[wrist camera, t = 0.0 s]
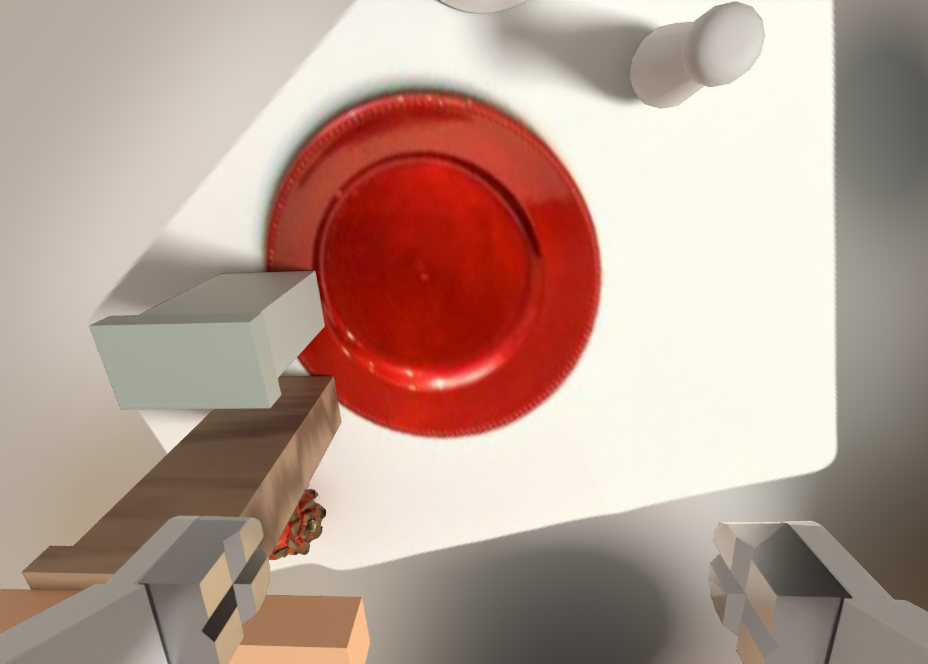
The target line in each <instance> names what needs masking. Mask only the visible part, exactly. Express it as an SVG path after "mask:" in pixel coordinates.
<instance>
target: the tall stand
mask: <svg viewBox="0 0 928 664" xmlns="http://www.w3.org/2000/svg"><path fill="white" fill-rule="evenodd" d="M278 382H279V387H280V391H281V396H280V397H279V398H278V399H277V401H276V402H275V403H274V404H273V405H272V407H271V408H243V409H214V410H212V411H211V412H210V413H209V414H208V415H207V416H206V417H205V418H204V419H203V420H202V421H201V422H200V423H199V424H198V425H197V426H196V427H195V428H194V429H193V430H192V431H191V432H190V433H189V434H188V435H187V436H186V437H185V438H184V439H183V440H182V441H181V442H180V443H179V444H178V445H177V446H175V447H174V448H173V449H172V450H171V451H170V452H169V453H168V454H167V455H166V456H165V457H164V458H163V459H162V460H161V461H160V462H159V463H158V464H157V465H156V466H155V467H154V468H153V469H152V470H151V471H150V472H149V473H148V474H147V475H146V476H145V477H144V478H143V479H142V480H141V481H140V482H139V483H137V484H136V485H135V486H134V487H133V488H132V489H131V490H130V491H129V492H128V493H127V494H126V495H125V496H124V497H123V498H122V499H121V500H120V501H119V502H118V503H117V504H116V505H115V506H114V507H113V508H112V509H111V510H110V511H109V512H108V513H107V514H106V515H105V516H104V517H102V519H100V520H99V522H98V523H96V524H95V525H94V526H93V527H92V528H91V529H90V530H89V531H88V532H87V533H86V534H85V535H84V536H83V537H82V538H81V539H80V540H79V541H78V542H77V543H76V544H75V545H74V546H49V547H48V548H47V549H46V550H45V551H44V552H43V553H42V554H41V555H40V556H38V558H36V559H35V560H34V561H33V562H32V563H31V564H30V565H29V566H28V567H27V568H26V569H24V570H23V571H22V574H23V576H24V577H25V579H26V581H27V583H28V585H29V587H30V588H31V590H67V591H83V590H85V589H87V588H89V587H90V586H92V585H94V584H105V583H106V582H107V581H108V580H109V579H110V578H111V577H112V576H113V575H114V574H115V573H116V572H117V571H118V570H119V569H120V568H121V567H122V566H123V565H124V564H125V563H126V562H127V561H128V560H129V559H130V558H131V557H132V556H133V555H134V554H135V553H136V552H137V551H138V550H139V549H140V548H141V547H142V546H143V545H144V544H145V543H146V542H147V541H148V540H149V539H150V538H151V537H152V536H153V535H154V534H155V533H156V532H157V531H158V530H159V529H160V528H161V527H162V526H163V525H164V524H165V523H166V522H167V521H168V520H169V519H171V518H173V517H176V516H202V517H203V516H222V517H252V518H256V519H257V520H259V521H260V522H261V526H262V530H263V534H264V537H263V539H262V540H261V542H260V544H259V545H258V547H259V548H260V549H261V550H262V551H263V552H264V553H265V554H266V555H267V556H268V558H269V556H270V554H271V553H272V551H273V549H274V547H275V545H276V543H277V541H278V540H279V538H280V536H281V534H282V532H283V530H284V528H285V527H286V525H287V523H288V521H289V519H290V517H291V515H292V513H293V512H294V510H295V508H296V506H297V504H298V502H299V500H300V499H301V497H302V495H303V493H304V491H305V489H306V487H307V486H308V484H309V482H310V480H311V478H312V476H313V474H314V472H315V471H316V469H317V467H318V465H319V463H320V461H321V459H322V458H323V456H324V454H325V452H326V450H327V448H328V446H329V445H330V443H331V441H332V439H333V437H334V435H335V433H336V431H337V430H338V428H339V426H340V424H341V417H340V411H339V405H338V399H337V394H336V388H335V382H334V376H313V377H279V378H278Z"/></svg>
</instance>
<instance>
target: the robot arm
mask: <svg viewBox="0 0 928 664" xmlns="http://www.w3.org/2000/svg"><path fill="white" fill-rule="evenodd" d="M440 1H442V2H443V3H445V4H447V5H449V6H451V7H454V8H456V9H459V10H462V11H467V12H472V13H493V12H498V11H503V10H506V9H509V8H512V7H514V6H516V5H518V4H520V3H522V2H524V1H526V0H440ZM263 537H264V534H263V530H262V526H261V522H260V521H259V520H257V519H256V518H252V517H222V516H203V517H202V516H176V517H173V518H171V519H169V520H168V521H167V522H166V523H165V524H164V525H163V526H162V527H161V528H160V529H159V530H158V531H157V532H156V533H155V534H154V535H153V536H152V537H151V538H150V539H149V540H148V541H147V542H146V543H145V544H144V545H143V546H142V547H141V548H140V549H139V550H138V551H137V552H136V553H135V554H134V555H133V556H132V557H131V558H130V559H129V560H128V561H127V562H126V563H125V564H124V565H123V566H122V567H121V568H120V569H119V570H118V571H117V572H116V573H115V574H114V575H113V576H112V577H111V578H110V579H109V580H108V581H107V582H106V583H105V584H94V585H92V586H90V587H89V588H87V589H85V590H83V591H81V592H79V593H77V594H75V595H73V596H71V597H69V598H67V599H66V600H64V601H62V602H60V603H58V604H56V605H54V606H52V607H50V608H48V609H46V610H45V611H43V612H41V613H39V614H37V615H35V616H33V617H31V618H29V619H27V620H25V621H24V622H22V623H20V624H18V625H16V626H14V627H12V628H10V629H8V630H6V631H4V632H3V633H1V634H0V664H229V662H230V660H231V659H232V657H233V655H234V653H235V651H236V650H237V648H238V646H239V644H240V643H241V641H242V639H243V637H244V634H243V628H242V624H243V623H245V622H246V621H247V620H249V619H250V618H251V617H253V616H254V615H255V614H257V613H258V611H259V609H260V607H261V605H262V603H263V601H264V599H265V597H266V593H267V589H268V586H269V582H270V564H269V559H268V556H267V555H266V554H265V553H264V552H263V551H262V550H261V549H260V548H259V547H258V545H259V544H260V542H261V540H262V539H263ZM713 543H714V544H715V546H716V548H717V549H718V551H719V553H720V554H719V555H718V556H717V557H716V558H715V559H714V560H713V561H712V562H711V563H710V569H709V585H710V592H711V598H712V601H713V604H714V607H715V610H716V612H717V614H718V616H719V618H720V620H721V622H722V624H723V626H725V627H726V628H727V629H729V630H730V631H731V632H733V633H734V634H735V635H736V636H738V642H737V649H736V651H737V653H738V655H739V657H740V659H741V661H742V663H743V664H928V612H927V611H925V610H923V609H921V608H919V607H917V606H915V605H913V604H911V603H910V602H908V601H906V600H894V599H893V598H892V597H891V596H890V595H889V594H888V593H887V592H886V591H885V590H884V589H883V588H882V587H881V586H880V585H879V584H878V583H877V582H876V581H875V580H874V579H873V578H872V577H871V576H870V575H869V574H868V573H867V571H866V570H865V569H864V568H863V567H862V566H861V565H860V564H859V563H858V562H857V561H856V560H855V559H854V558H853V557H852V556H851V555H850V554H849V553H848V552H847V551H846V550H845V549H844V548H843V547H842V546H841V545H840V544H839V543H838V542H837V541H836V540H835V539H834V538H833V537H832V536H831V534H830V533H829V532H828V531H827V530H826V529H824V527H823V526H821V525H820V524H818V523H815V522H814V521H783V522H782V521H781V522H780V523H778V522H719V523H718V525H717V526H716V528H715V532H714V538H713Z"/></svg>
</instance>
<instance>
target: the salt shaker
mask: <svg viewBox="0 0 928 664" xmlns="http://www.w3.org/2000/svg"><path fill="white" fill-rule="evenodd" d="M764 37H765V34H764V28H763V21H762V18H761V17H760V16H759V15H758V13H757V12H756V11H755V10H754V9H753V7H751V6H748V5H746V4H743V3H740V2H731V3H727V4H722V5H718V6H714V7H713V8H712V9H710V10H709V11H707V12H706V13H705V14H703V15H702V16H701V17H699V18H698V19H697V20H695V22H684V23H675V24H670V25H666V26H661V27H659V28H657V29H656V30H655V31H653V32H652V33H650V34H649V35H648V36H646V37H645V38H644V39H643V40H642V42H641V44H640V45H639V47H638V49H637V51H636V52H635V54H634V56H633V58H632V64H631V69H630V75H629V76H630V80H631V83H632V87H633V90H634V92H635V94H636V95H637V96H638V97H639V98H640V99H641V100H642V102H643V103H644V104H646V105H650V106H653V107H657V108H660V109H662V108H668V107H673V106H678V105H679V104H681V103H682V102H684V101H685V100H686V99H688V98H689V97H691V96H692V95H693V94H695V93H696V92H697V91H698V90H700V89H701V88H702V87H704V86H708V87H714V86H720V85H725V84H730V83H732V82H733V81H735V80H736V79H737V78H739V77H740V76H742V75H743V74H744V73H746V72H747V71H749V70H750V68H751V67H752V66H753V64H754V63H755V61H756V60H757V58H758V57H759V56H760V54H761V50H762V46H763V42H764Z"/></svg>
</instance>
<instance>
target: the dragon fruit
mask: <svg viewBox="0 0 928 664" xmlns="http://www.w3.org/2000/svg"><path fill="white" fill-rule="evenodd" d="M317 496H318V493H317V492H316V491H315V490H312V489H308V490H305V491H304V493H303V495H302V497H301V499H300V500H299V502H298V504H297V506H296V508H295V510H294V512H293V513H292V515H291V517H290V519H289V521H288V523H287V525H286V527H285V528H284V530H283V532H282V534H281V536H280V538H279V540H278V541H277V543H276V545H275V547H274V549H273V551H272V553H271V554H270V556H269V558H268V559H269V560H277V559H279V558H281V557H286V556H287V555H288V554H290V555H297V554H299V553H300V554H303V555H306V554H307V553H308V552H309V548H310V544H309V543H310V542H311V541H312V540H314V539H316V538H318V537H319V536H320V535H321V533H322V528H323V527H322V526H320V525H321V521H322V519H323V518H324V517H325V516H326V509H324V508H323V507H322V506H321V505H320V504H318V503H316V502H315V501H313V499H315V498H316V497H317Z"/></svg>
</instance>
